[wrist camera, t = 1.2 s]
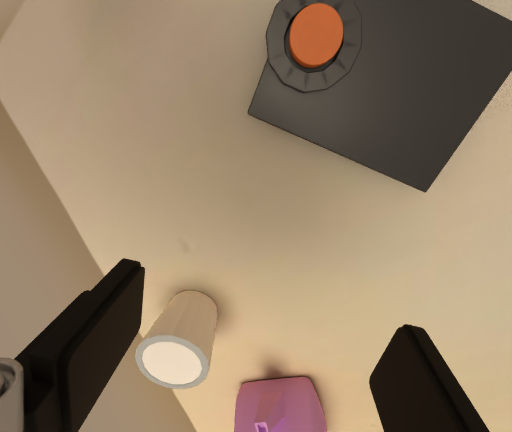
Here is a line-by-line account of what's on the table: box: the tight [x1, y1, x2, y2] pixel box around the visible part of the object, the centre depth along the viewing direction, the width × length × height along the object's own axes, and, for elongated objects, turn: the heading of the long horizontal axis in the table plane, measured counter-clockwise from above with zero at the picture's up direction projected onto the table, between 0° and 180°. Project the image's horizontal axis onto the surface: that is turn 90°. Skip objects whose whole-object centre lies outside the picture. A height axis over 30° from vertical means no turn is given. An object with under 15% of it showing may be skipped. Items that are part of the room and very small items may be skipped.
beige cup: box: [135, 291, 218, 389], centre depth 28 cm, size 7×7×7 cm
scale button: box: [289, 3, 343, 68], centre depth 17 cm, size 3×3×2 cm
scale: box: [247, 0, 512, 192], centre depth 20 cm, size 17×12×3 cm
